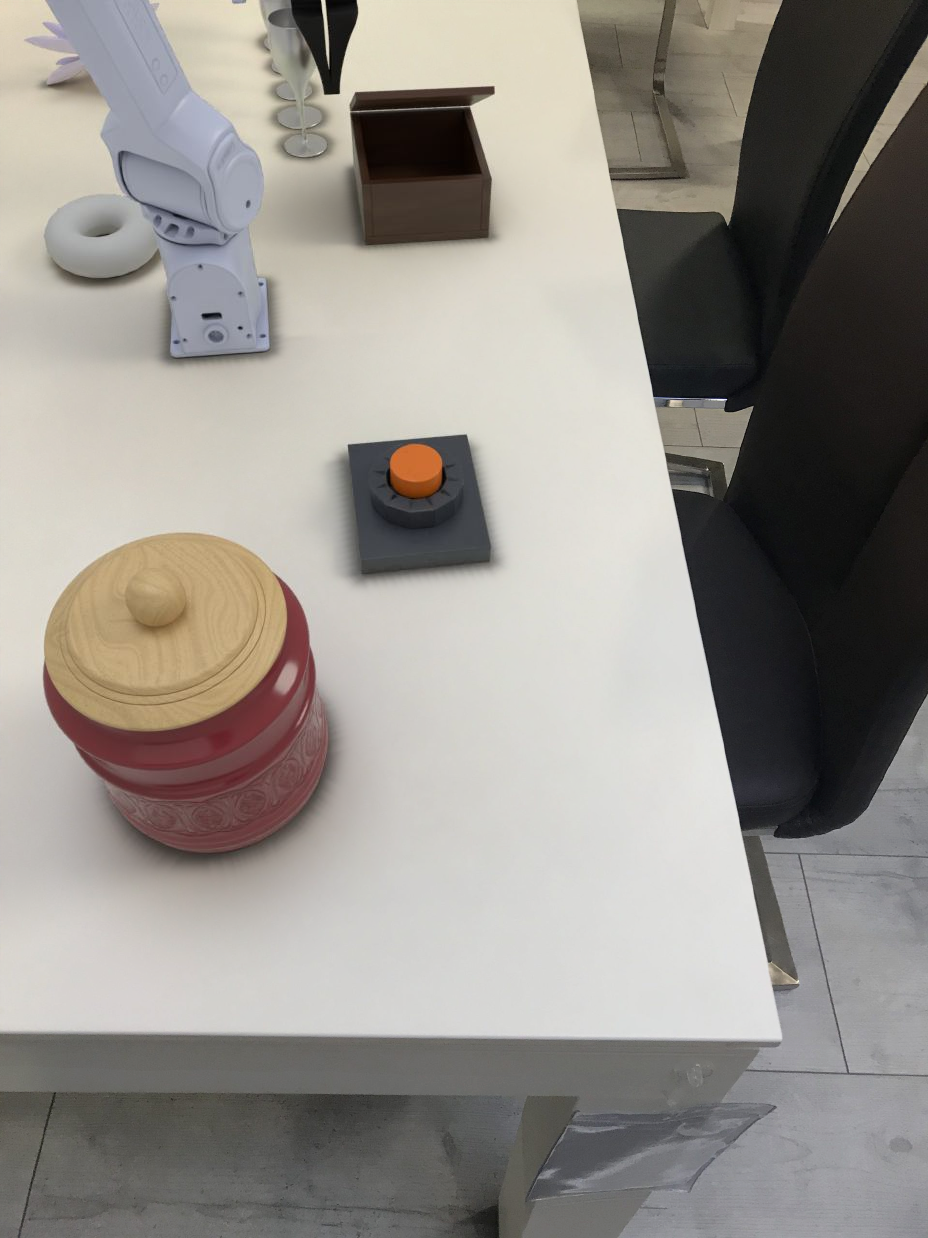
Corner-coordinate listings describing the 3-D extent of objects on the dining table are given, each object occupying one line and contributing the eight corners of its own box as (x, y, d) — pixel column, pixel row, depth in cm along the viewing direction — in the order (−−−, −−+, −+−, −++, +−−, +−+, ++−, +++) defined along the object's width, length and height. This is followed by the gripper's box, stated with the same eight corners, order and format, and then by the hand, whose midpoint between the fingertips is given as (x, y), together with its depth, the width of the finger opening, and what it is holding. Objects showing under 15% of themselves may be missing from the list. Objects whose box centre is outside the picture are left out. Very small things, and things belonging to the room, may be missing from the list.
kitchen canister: (125, 669, 58) (23, 479, 44) (329, 656, 59) (296, 466, 45) (98, 868, 51) (-34, 719, 36) (332, 850, 52) (294, 697, 37)
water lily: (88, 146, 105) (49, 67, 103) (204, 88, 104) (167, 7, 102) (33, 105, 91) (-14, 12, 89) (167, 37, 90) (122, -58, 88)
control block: (490, 562, 64) (492, 530, 61) (361, 575, 63) (358, 543, 60) (466, 449, 70) (467, 415, 67) (349, 460, 69) (345, 426, 66)
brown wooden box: (488, 237, 86) (491, 177, 81) (365, 244, 85) (361, 185, 80) (468, 164, 93) (470, 106, 88) (354, 170, 92) (349, 111, 87)
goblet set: (336, 155, 93) (324, 10, 82) (279, 160, 92) (259, 14, 81) (306, 29, 108) (292, -107, 97) (257, 32, 108) (237, -105, 97)
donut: (147, 292, 80) (178, 224, 85) (136, 257, 77) (169, 189, 83) (35, 282, 80) (73, 215, 86) (20, 247, 77) (60, 180, 83)
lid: (494, 93, 76) (494, 85, 76) (355, 100, 75) (354, 91, 74) (470, 105, 88) (470, 98, 88) (349, 111, 87) (349, 104, 86)
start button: (445, 496, 63) (445, 479, 62) (393, 501, 63) (392, 483, 61) (438, 458, 65) (438, 441, 64) (388, 463, 65) (387, 445, 63)
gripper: (404, -122, 72) (407, 62, 83) (216, -118, 70) (246, 70, 81) (415, -87, 68) (417, 102, 79) (217, -81, 66) (248, 110, 77)
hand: (331, 88), depth 80 cm, fingers closed
